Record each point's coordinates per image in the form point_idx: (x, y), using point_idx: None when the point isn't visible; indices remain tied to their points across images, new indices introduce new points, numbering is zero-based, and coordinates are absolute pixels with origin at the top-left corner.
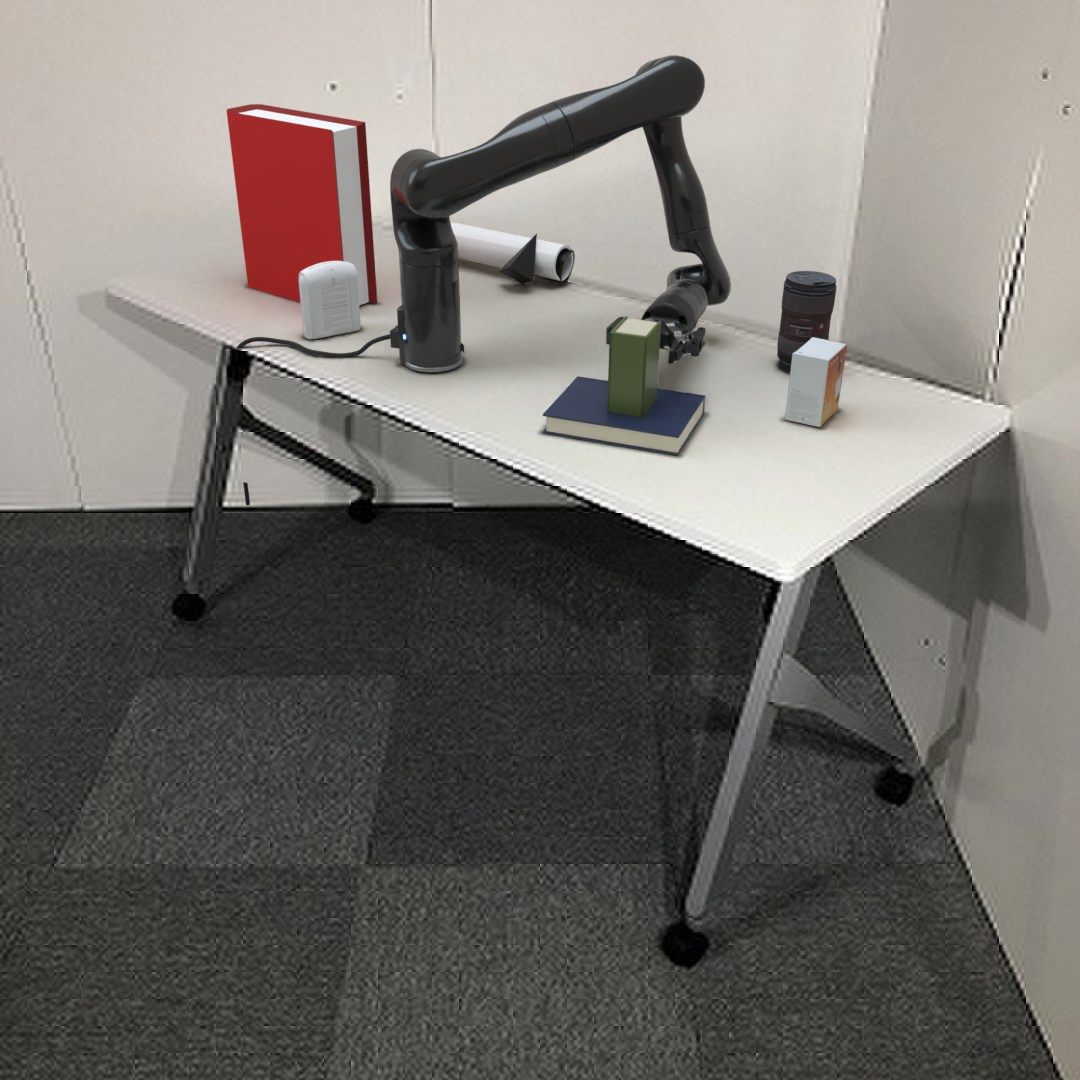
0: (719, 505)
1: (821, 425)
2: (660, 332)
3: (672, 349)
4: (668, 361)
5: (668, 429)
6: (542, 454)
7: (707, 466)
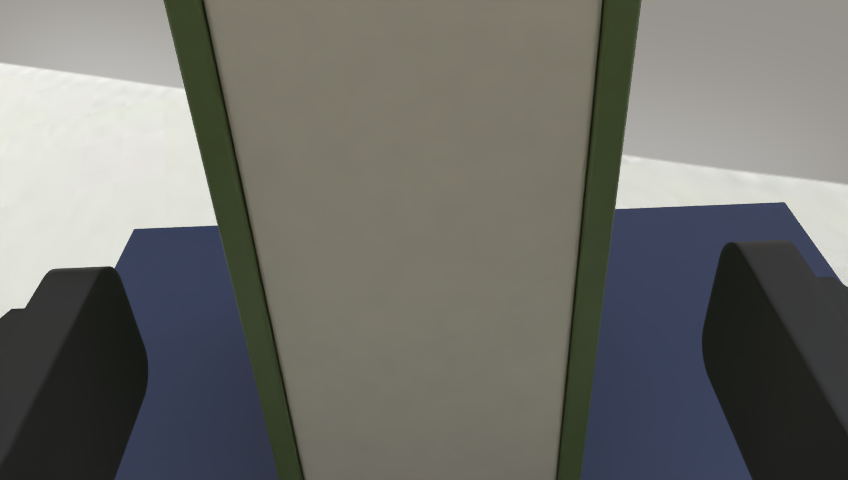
0: (35, 142)
1: None
2: (170, 17)
3: (69, 269)
4: (144, 348)
5: (183, 256)
6: (643, 181)
7: (37, 279)
